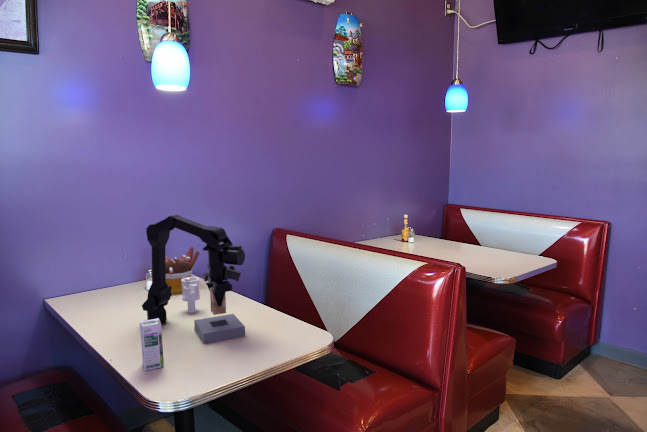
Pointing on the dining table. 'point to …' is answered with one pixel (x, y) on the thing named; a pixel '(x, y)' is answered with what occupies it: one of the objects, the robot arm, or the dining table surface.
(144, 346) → the syrup box
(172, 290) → the bucket of meat
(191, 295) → the windowed cylinder housing
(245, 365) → the dining table surface
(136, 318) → the dining table surface
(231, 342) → the dining table surface
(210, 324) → the socket block
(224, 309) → the oak peg
